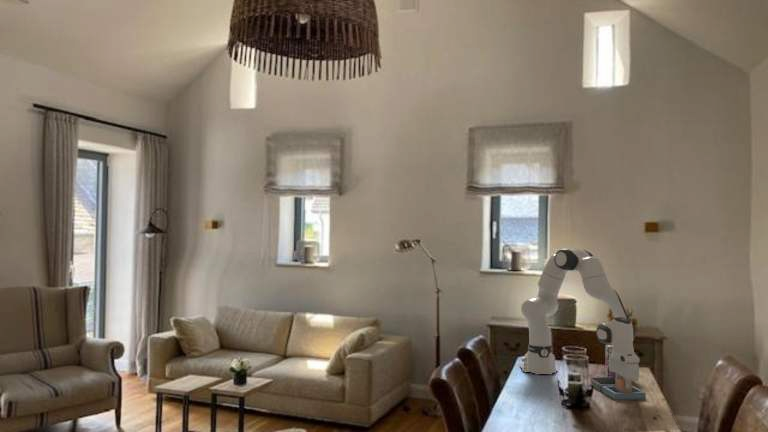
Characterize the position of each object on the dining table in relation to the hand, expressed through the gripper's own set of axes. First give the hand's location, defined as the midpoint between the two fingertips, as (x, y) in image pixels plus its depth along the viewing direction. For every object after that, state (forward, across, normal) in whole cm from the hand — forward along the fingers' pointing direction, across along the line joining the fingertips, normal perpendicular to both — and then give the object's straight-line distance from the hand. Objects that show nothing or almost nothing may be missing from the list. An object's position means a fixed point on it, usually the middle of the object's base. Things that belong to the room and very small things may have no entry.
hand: (623, 385), depth 258 cm
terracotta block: (+2, 0, 0) cm, 2 cm away
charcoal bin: (+4, -14, 0) cm, 15 cm away
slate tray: (+4, 0, 0) cm, 5 cm away
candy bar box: (+5, -28, +12) cm, 31 cm away
